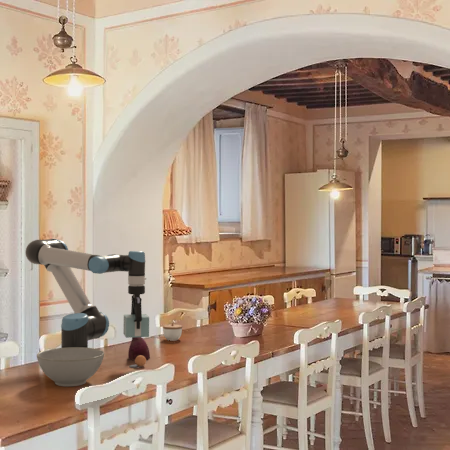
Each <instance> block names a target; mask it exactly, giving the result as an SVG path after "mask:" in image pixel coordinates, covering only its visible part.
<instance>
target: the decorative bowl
mask: <svg viewBox="0 0 450 450" xmlns="http://www.w3.org/2000/svg"><path fill="white" fill-rule="evenodd" d="M104 358H105V351H103V350H102V349H98V348H93V347H88V348H85V347H67V348H61V347H57V348H50V349H45V350H42V351H40V352H38V353H37V354H36V360H37V362H38V365H39V367H40V369H41V370H42V373H44V375H45V376H47V377H48V378H49V379H50V380H52V381H53V382H54V384H55V385H56V386H59V387H78V386H79V387H80V386H83V385H84V384H85V385H86V383H87V380H89V379H91V378H92V377H93V376H94V375H95V374H96V373H97V371H98V370H99V368H100V367H101V364H102V362H103V360H104Z"/></svg>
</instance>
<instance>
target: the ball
mask: <svg viewBox="0 0 450 450" xmlns="http://www.w3.org/2000/svg"><path fill="white" fill-rule="evenodd" d="M134 363H135V365H137V366H142V367H144V366H145V365H146V364H147V360H146V358H145V357H144V356H142V355H139V356H137V357H136V359H135V360H134Z"/></svg>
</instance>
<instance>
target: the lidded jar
mask: <svg viewBox="0 0 450 450" xmlns="http://www.w3.org/2000/svg"><path fill="white" fill-rule="evenodd" d="M182 330H183V325H181V324H175V323H174V322H171V324H170V323H169V324H164V325H162V333H163V336H164V338H165V339H166V340H167V341H169V340H170V341H171V342H172V341H173V342H174V341H178V340H179V339H180V338H181V336H182V332H183V331H182ZM170 341H169V342H170Z"/></svg>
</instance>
